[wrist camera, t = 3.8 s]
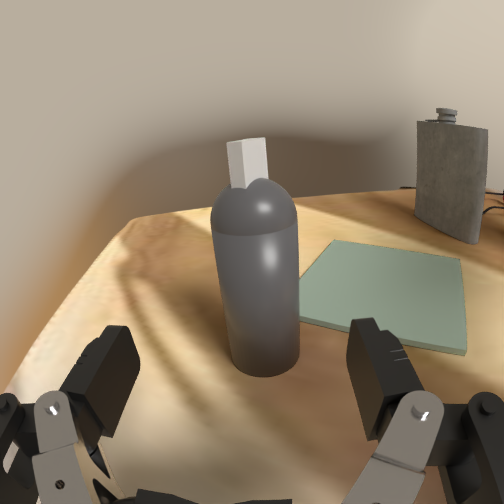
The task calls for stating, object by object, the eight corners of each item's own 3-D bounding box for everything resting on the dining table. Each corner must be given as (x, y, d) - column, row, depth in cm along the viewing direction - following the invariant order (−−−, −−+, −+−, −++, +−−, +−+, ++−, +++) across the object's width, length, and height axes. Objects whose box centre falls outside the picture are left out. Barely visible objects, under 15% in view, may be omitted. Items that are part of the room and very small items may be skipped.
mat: (333, 243, 42) (333, 239, 42) (458, 263, 33) (459, 259, 33) (273, 313, 28) (272, 308, 28) (464, 355, 19) (466, 350, 19)
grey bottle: (254, 325, 27) (235, 138, 21) (310, 341, 24) (306, 135, 18) (218, 362, 23) (181, 148, 16) (279, 386, 20) (264, 142, 14)
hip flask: (481, 242, 38) (491, 113, 30) (466, 246, 37) (476, 109, 29) (423, 212, 52) (425, 108, 44) (407, 214, 52) (409, 106, 43)
